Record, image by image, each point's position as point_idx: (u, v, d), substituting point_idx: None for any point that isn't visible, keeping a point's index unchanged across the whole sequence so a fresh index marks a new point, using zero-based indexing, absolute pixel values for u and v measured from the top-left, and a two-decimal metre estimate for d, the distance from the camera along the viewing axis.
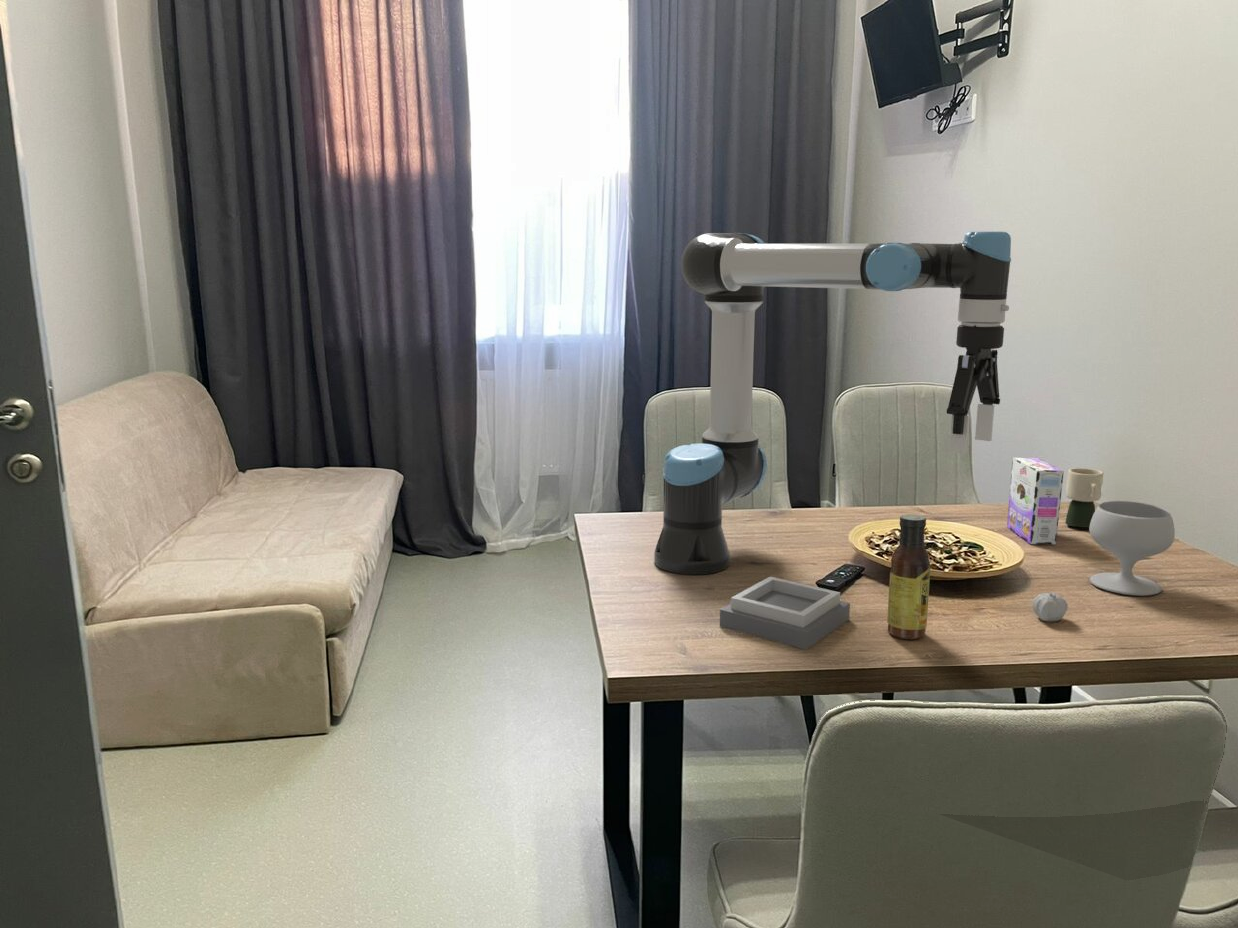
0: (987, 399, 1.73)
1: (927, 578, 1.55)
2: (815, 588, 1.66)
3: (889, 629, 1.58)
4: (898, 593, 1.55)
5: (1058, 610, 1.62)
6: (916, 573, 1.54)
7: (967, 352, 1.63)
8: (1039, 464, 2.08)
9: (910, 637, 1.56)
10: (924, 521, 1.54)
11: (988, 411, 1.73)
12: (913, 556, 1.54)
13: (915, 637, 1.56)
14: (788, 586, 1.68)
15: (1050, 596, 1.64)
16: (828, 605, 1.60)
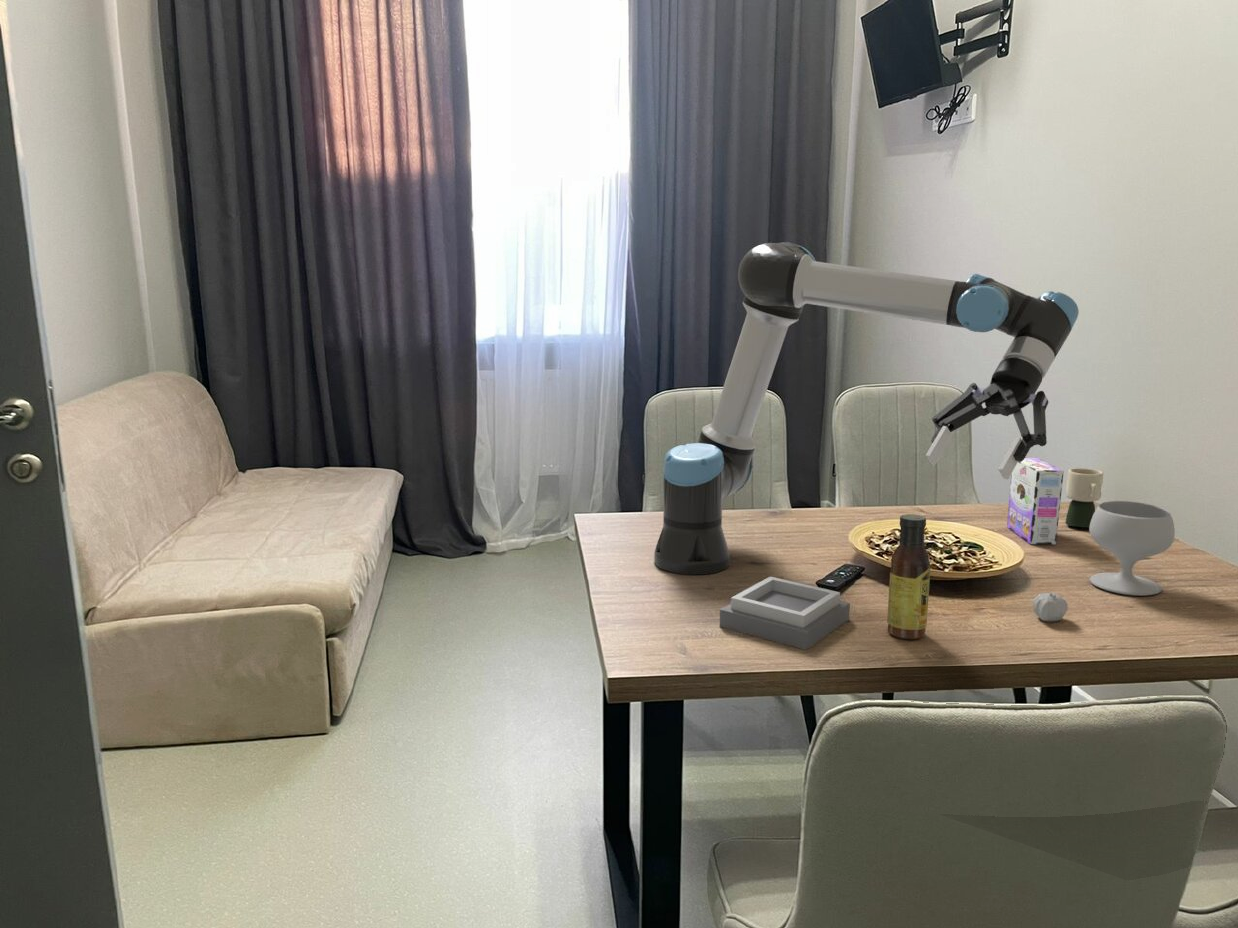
0: (948, 426, 1.68)
1: (927, 578, 1.55)
2: (815, 588, 1.66)
3: (889, 629, 1.58)
4: (898, 593, 1.55)
5: (1058, 610, 1.62)
6: (916, 573, 1.54)
7: (1029, 389, 1.62)
8: (1039, 464, 2.08)
9: (910, 637, 1.56)
10: (924, 521, 1.54)
11: (947, 438, 1.67)
12: (913, 556, 1.54)
13: (915, 637, 1.56)
14: (788, 586, 1.68)
15: (1050, 596, 1.64)
16: (828, 605, 1.60)
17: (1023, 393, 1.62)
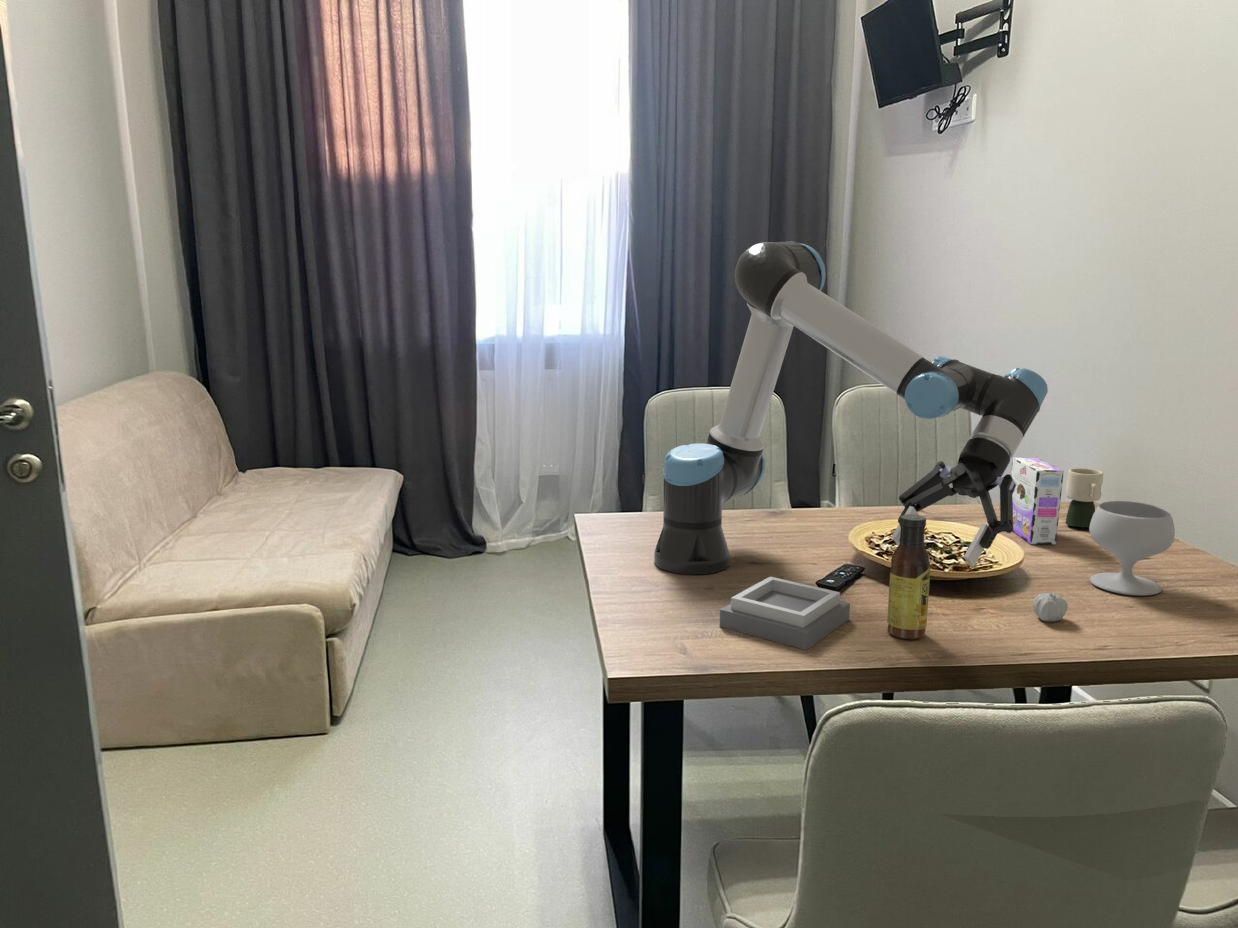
0: (915, 506, 1.65)
1: (927, 578, 1.55)
2: (815, 588, 1.66)
3: (889, 629, 1.58)
4: (898, 593, 1.55)
5: (1058, 610, 1.62)
6: (916, 573, 1.54)
7: (996, 471, 1.59)
8: (1039, 464, 2.08)
9: (910, 637, 1.56)
10: (924, 521, 1.54)
11: None
12: (913, 556, 1.54)
13: (915, 637, 1.56)
14: (788, 586, 1.68)
15: (1050, 596, 1.64)
16: (828, 605, 1.60)
17: (990, 475, 1.58)
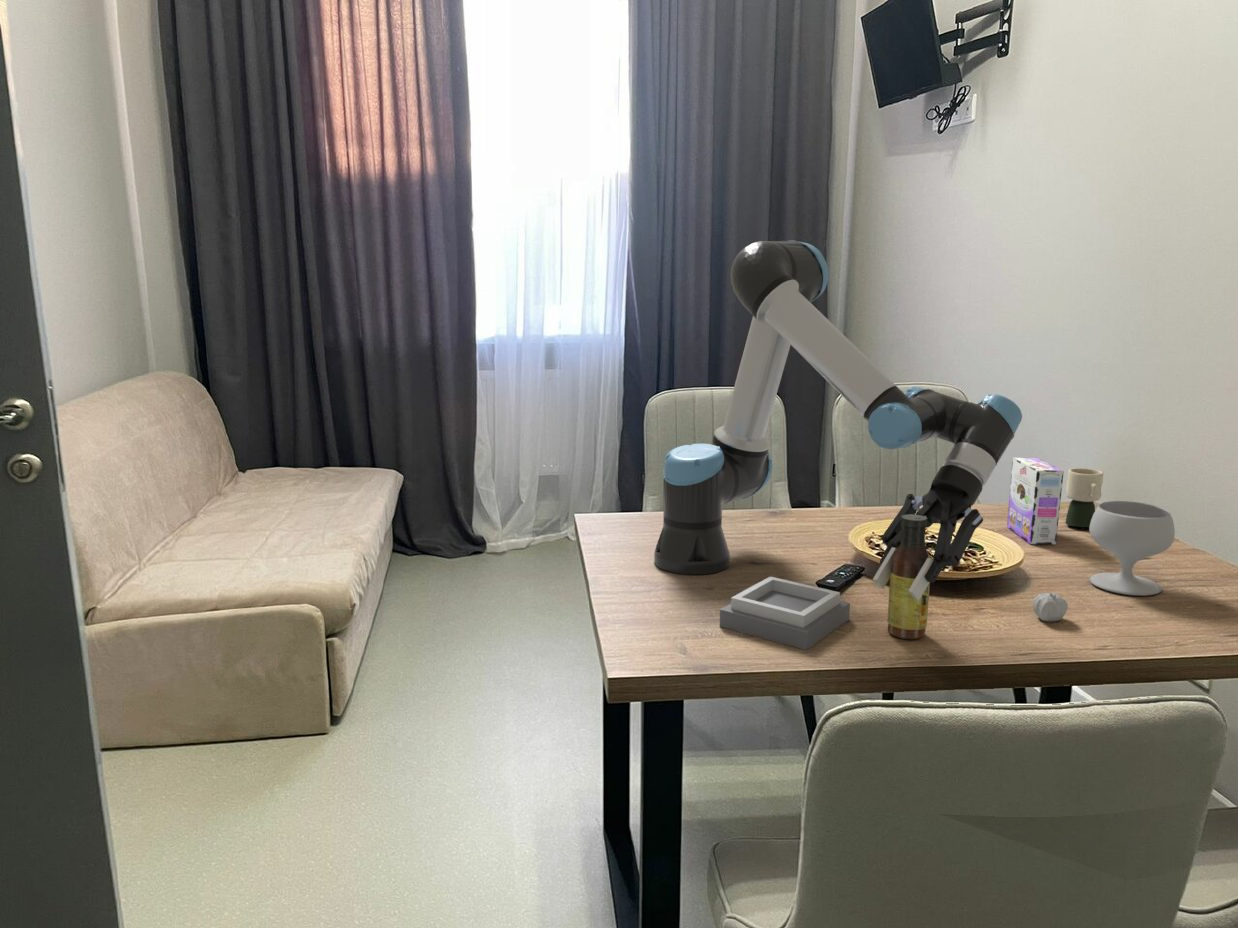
0: (897, 546, 1.60)
1: None
2: (815, 588, 1.66)
3: (889, 629, 1.58)
4: (898, 593, 1.55)
5: (1058, 610, 1.62)
6: (916, 573, 1.54)
7: (968, 500, 1.57)
8: (1039, 464, 2.08)
9: (910, 637, 1.56)
10: (925, 521, 1.54)
11: None
12: (913, 556, 1.54)
13: (915, 637, 1.56)
14: (788, 586, 1.68)
15: (1050, 596, 1.64)
16: (828, 605, 1.60)
17: (961, 504, 1.56)
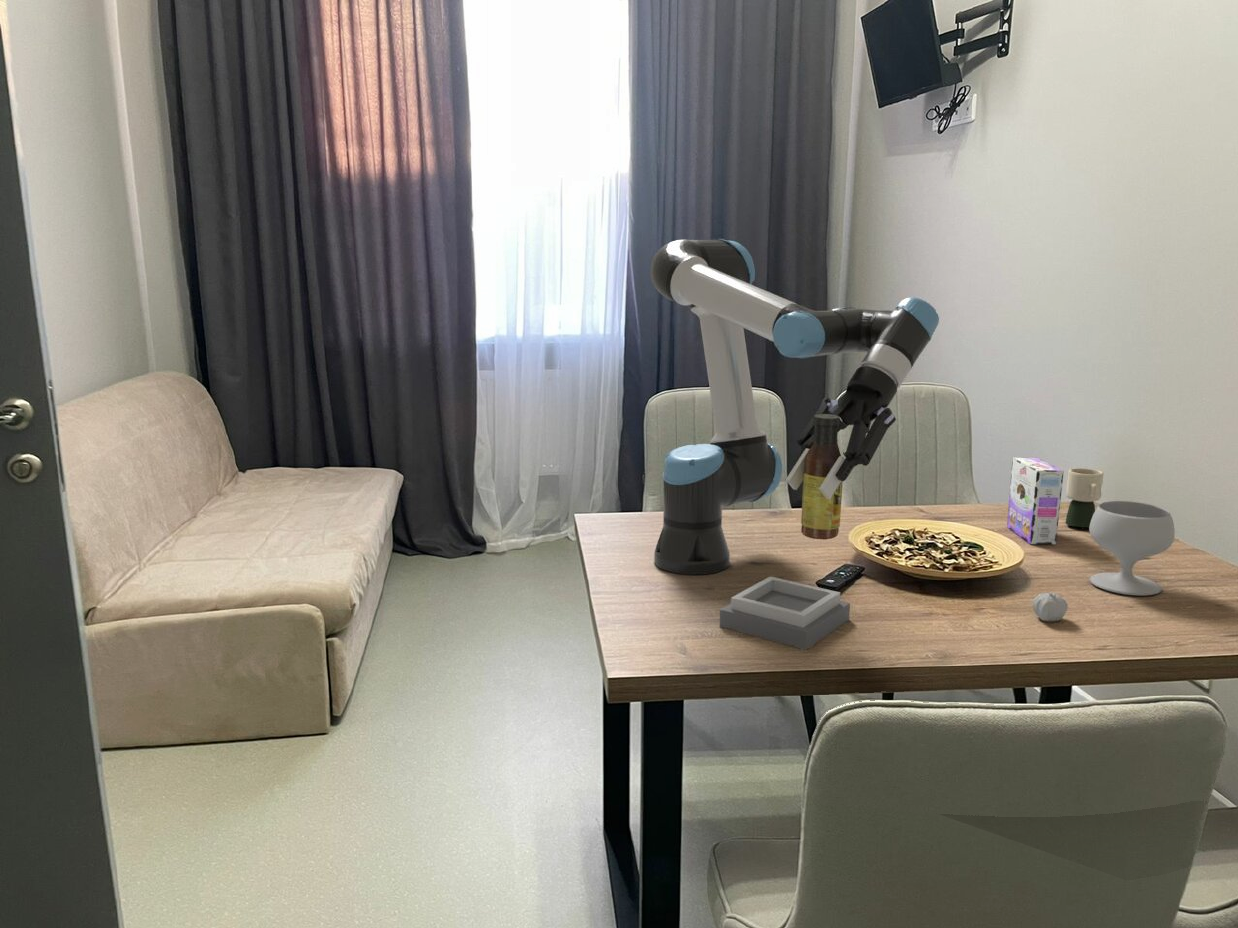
0: None
1: None
2: (815, 588, 1.66)
3: (802, 530, 1.58)
4: (810, 492, 1.55)
5: (1058, 610, 1.62)
6: (828, 472, 1.53)
7: (881, 400, 1.56)
8: (1039, 464, 2.08)
9: (822, 537, 1.55)
10: (837, 420, 1.53)
11: None
12: (825, 455, 1.53)
13: (827, 537, 1.55)
14: (788, 586, 1.68)
15: (1050, 596, 1.64)
16: (828, 605, 1.60)
17: (874, 404, 1.55)
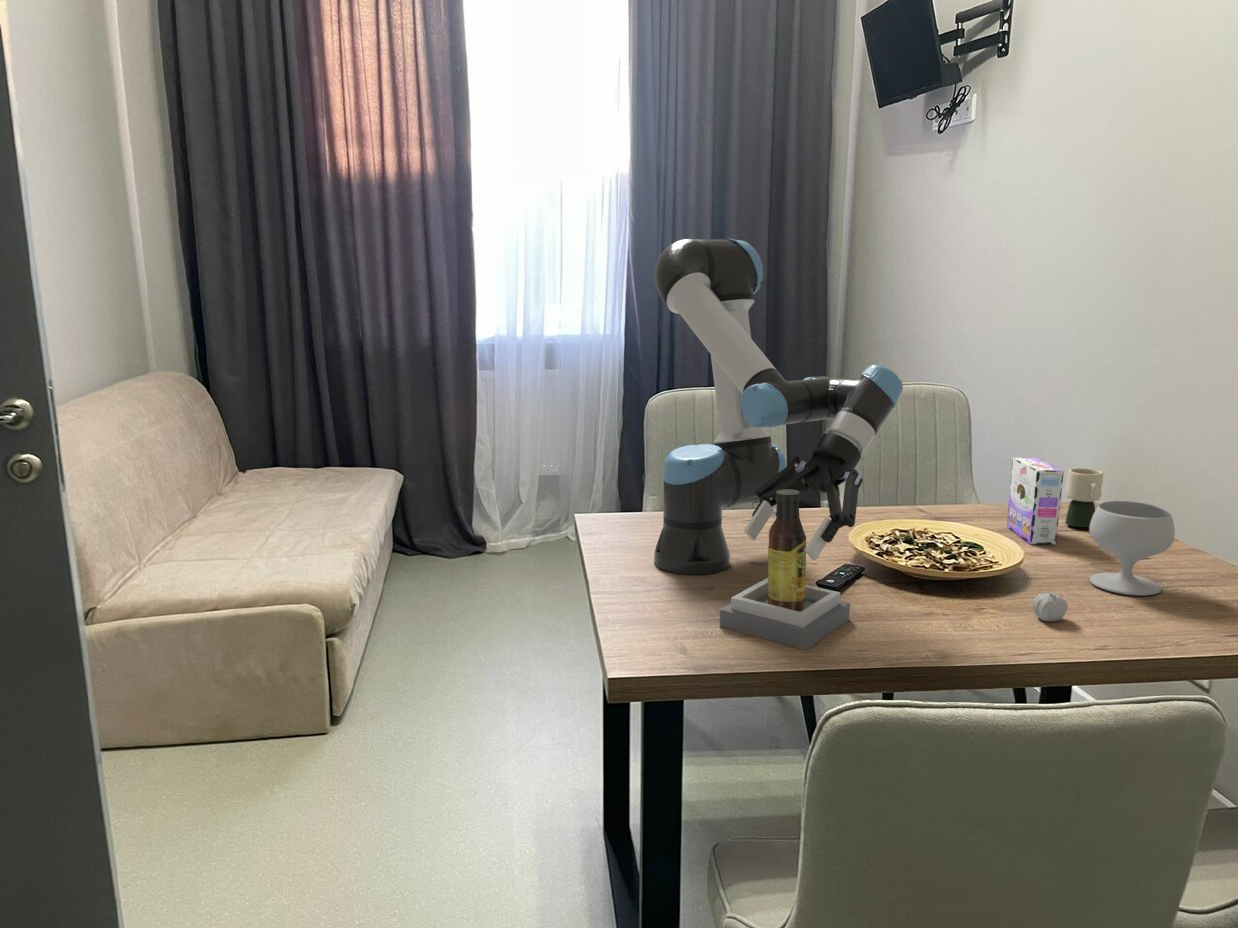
0: (770, 500, 1.67)
1: (802, 551, 1.58)
2: (815, 588, 1.66)
3: (769, 602, 1.62)
4: (774, 566, 1.59)
5: (1058, 610, 1.62)
6: (791, 546, 1.57)
7: (844, 467, 1.60)
8: (1039, 464, 2.08)
9: None
10: (798, 495, 1.57)
11: (768, 513, 1.66)
12: (787, 530, 1.57)
13: (792, 609, 1.60)
14: None
15: (1050, 596, 1.64)
16: (828, 605, 1.60)
17: (838, 470, 1.60)
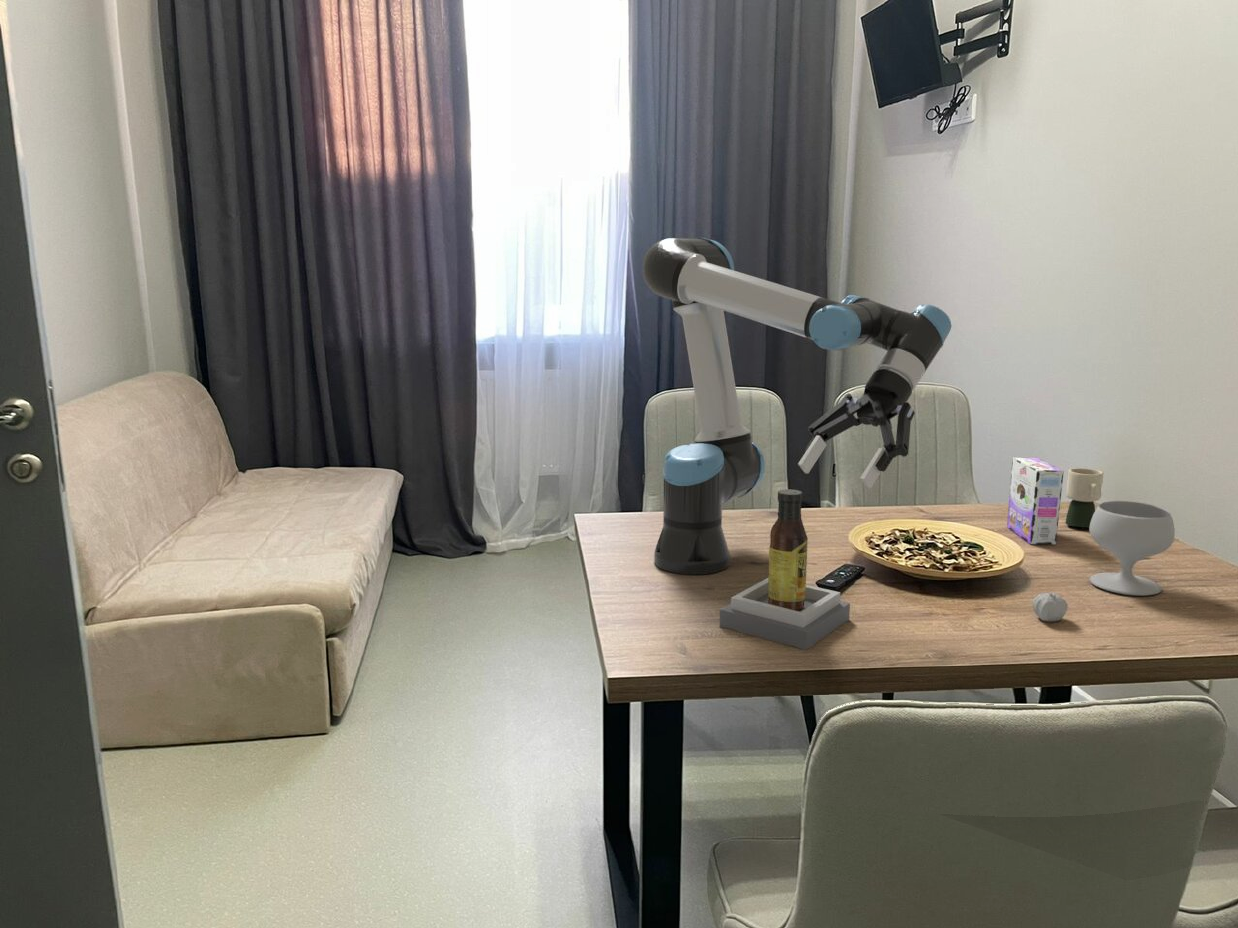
0: (822, 436, 1.72)
1: (803, 552, 1.59)
2: (815, 588, 1.66)
3: (769, 602, 1.62)
4: (775, 566, 1.59)
5: (1058, 610, 1.62)
6: (792, 546, 1.58)
7: (897, 401, 1.65)
8: (1039, 464, 2.08)
9: None
10: (800, 496, 1.58)
11: (821, 447, 1.71)
12: (788, 529, 1.58)
13: (792, 609, 1.60)
14: None
15: (1050, 596, 1.64)
16: (828, 605, 1.60)
17: (891, 404, 1.65)
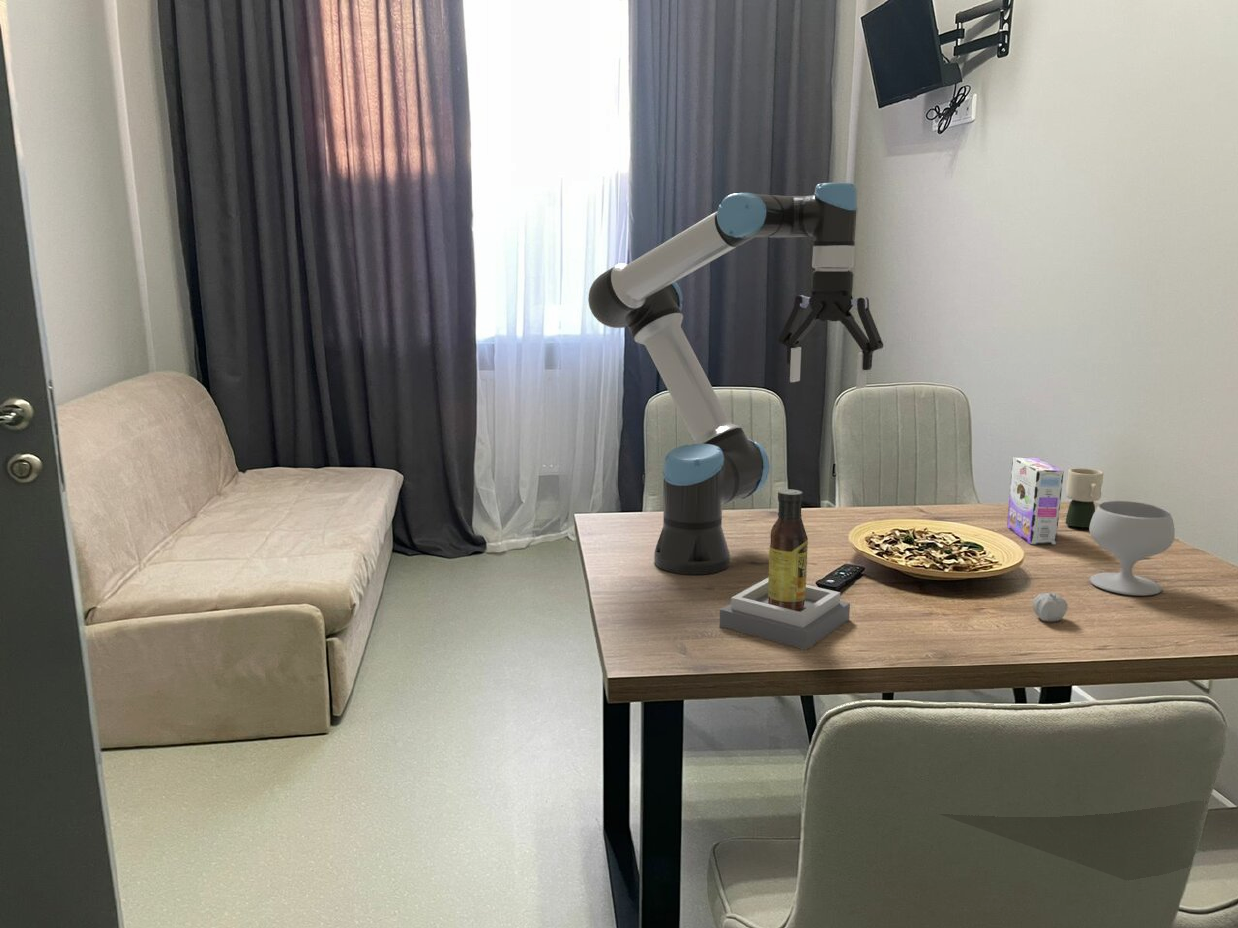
0: (794, 343, 1.85)
1: (804, 552, 1.59)
2: (815, 588, 1.66)
3: (769, 601, 1.62)
4: (775, 566, 1.59)
5: (1058, 610, 1.62)
6: (792, 546, 1.58)
7: (848, 295, 1.76)
8: (1039, 464, 2.08)
9: None
10: (800, 495, 1.58)
11: (799, 353, 1.86)
12: (789, 529, 1.58)
13: (792, 609, 1.60)
14: None
15: (1050, 596, 1.64)
16: (828, 605, 1.60)
17: (845, 302, 1.76)
